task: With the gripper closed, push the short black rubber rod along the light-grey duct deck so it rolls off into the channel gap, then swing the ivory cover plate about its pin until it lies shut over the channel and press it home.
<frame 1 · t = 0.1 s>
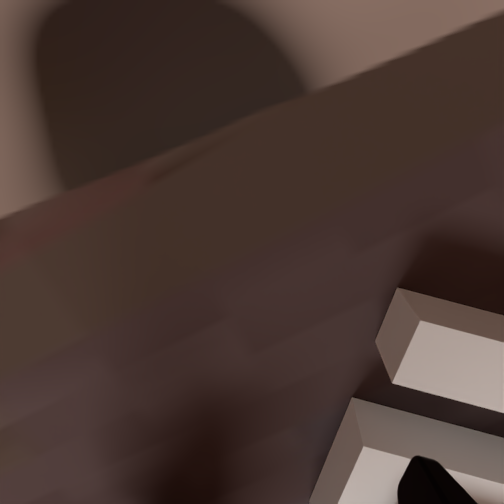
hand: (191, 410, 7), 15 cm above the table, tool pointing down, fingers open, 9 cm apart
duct: (479, 441, 24), on the table
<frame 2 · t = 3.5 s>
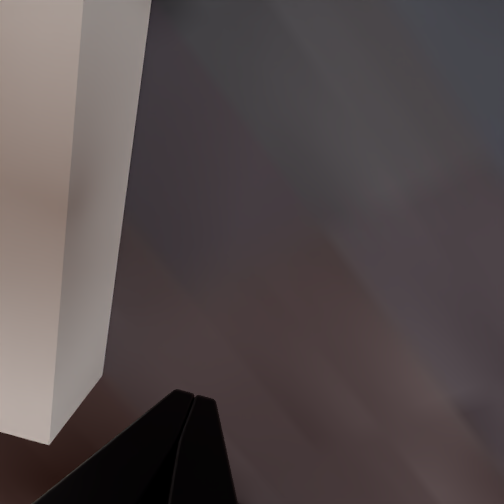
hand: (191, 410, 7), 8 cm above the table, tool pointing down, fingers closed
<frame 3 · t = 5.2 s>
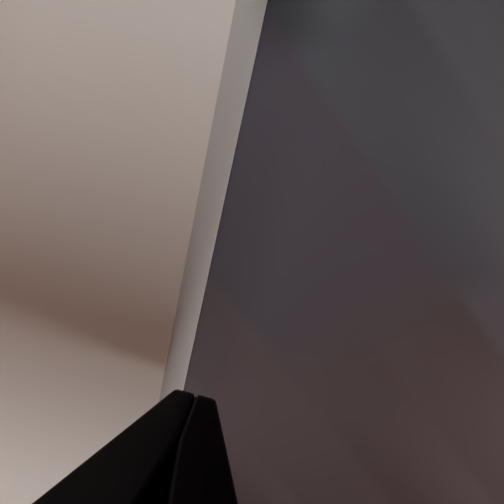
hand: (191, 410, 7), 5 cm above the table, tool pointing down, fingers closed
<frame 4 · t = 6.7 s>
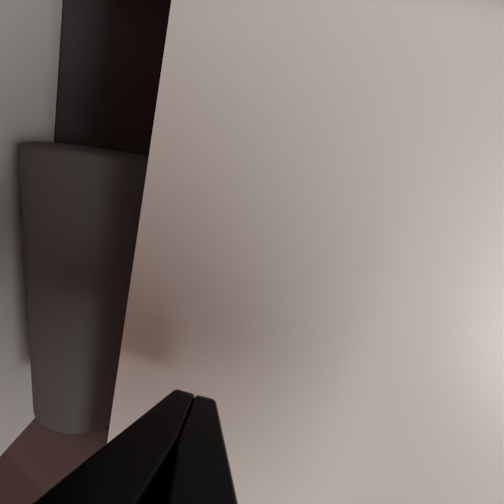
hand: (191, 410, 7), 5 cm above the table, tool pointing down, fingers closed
rod: (142, 282, 12), on the table, tilted 52°
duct: (206, 239, 12), on the table
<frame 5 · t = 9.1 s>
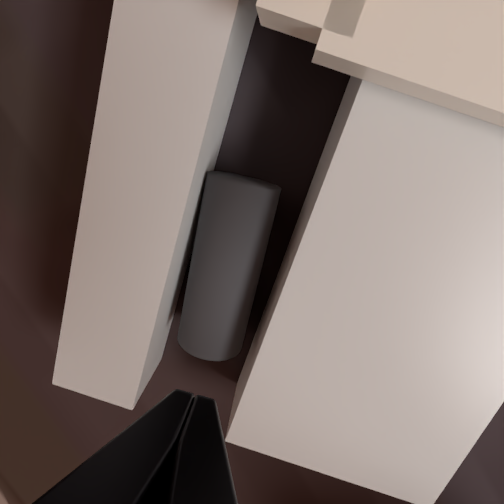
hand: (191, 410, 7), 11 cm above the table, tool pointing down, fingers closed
rod: (257, 268, 17), point 1 cm above the table, tilted 63°, touching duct
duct: (307, 241, 17), on the table
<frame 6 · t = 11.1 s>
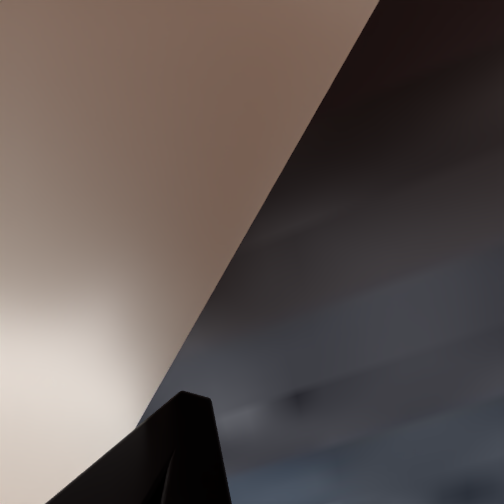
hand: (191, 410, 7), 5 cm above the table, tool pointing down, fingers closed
cover: (94, 164, 6), point 6 cm above the table, hinge at 90.0°, touching gripper
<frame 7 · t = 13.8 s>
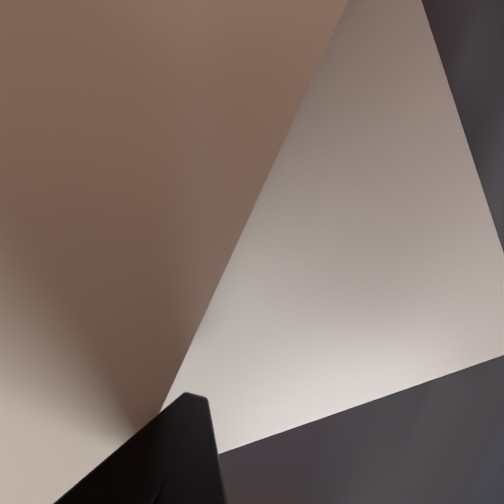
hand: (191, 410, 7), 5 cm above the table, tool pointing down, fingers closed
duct: (67, 146, 11), on the table
cover: (97, 171, 6), point 6 cm above the table, hinge at 39.0°, touching gripper
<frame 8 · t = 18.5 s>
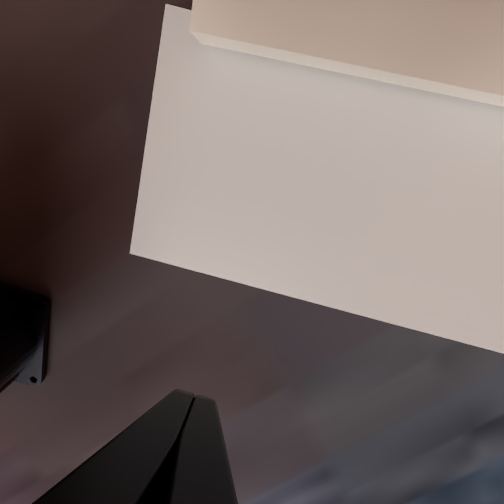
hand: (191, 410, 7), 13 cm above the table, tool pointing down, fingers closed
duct: (375, 100, 17), on the table
cover: (494, 2, 11), point 6 cm above the table, hinge at 2.5°
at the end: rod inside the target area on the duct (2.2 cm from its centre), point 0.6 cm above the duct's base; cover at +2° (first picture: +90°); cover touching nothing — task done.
